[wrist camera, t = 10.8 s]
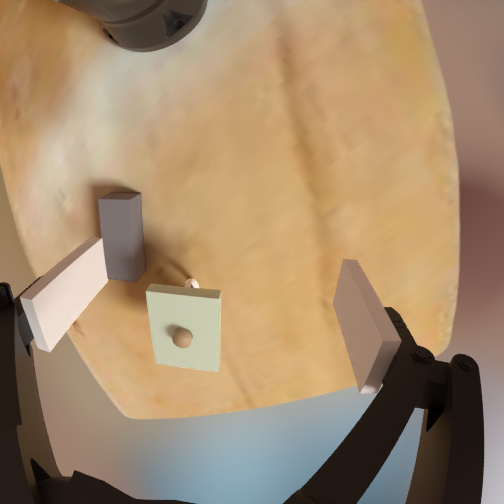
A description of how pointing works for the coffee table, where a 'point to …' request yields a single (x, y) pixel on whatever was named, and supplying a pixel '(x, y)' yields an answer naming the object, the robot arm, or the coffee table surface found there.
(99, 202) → the block
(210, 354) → the lid
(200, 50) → the coffee table surface
